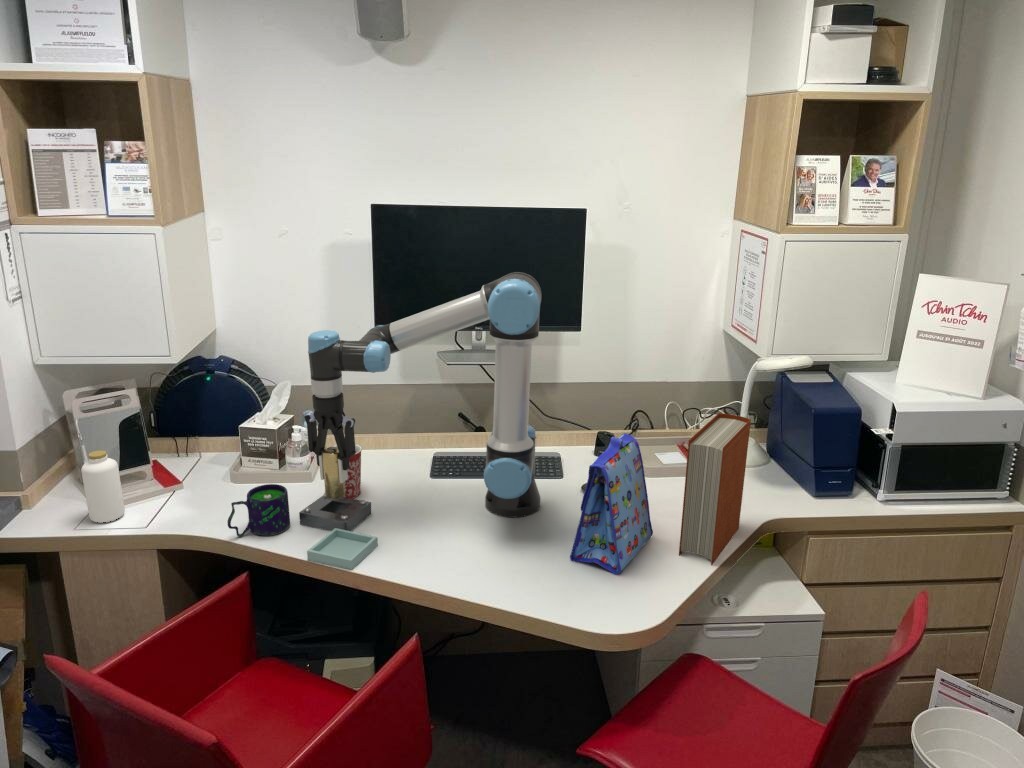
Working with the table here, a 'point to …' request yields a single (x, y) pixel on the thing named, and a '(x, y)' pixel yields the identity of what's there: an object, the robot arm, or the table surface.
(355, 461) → the mug
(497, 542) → the table surface
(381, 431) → the table surface
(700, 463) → the book
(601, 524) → the lunch bag
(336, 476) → the brass cylinder
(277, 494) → the mug
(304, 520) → the housing
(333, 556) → the tray
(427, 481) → the table surface
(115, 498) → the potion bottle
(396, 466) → the table surface
